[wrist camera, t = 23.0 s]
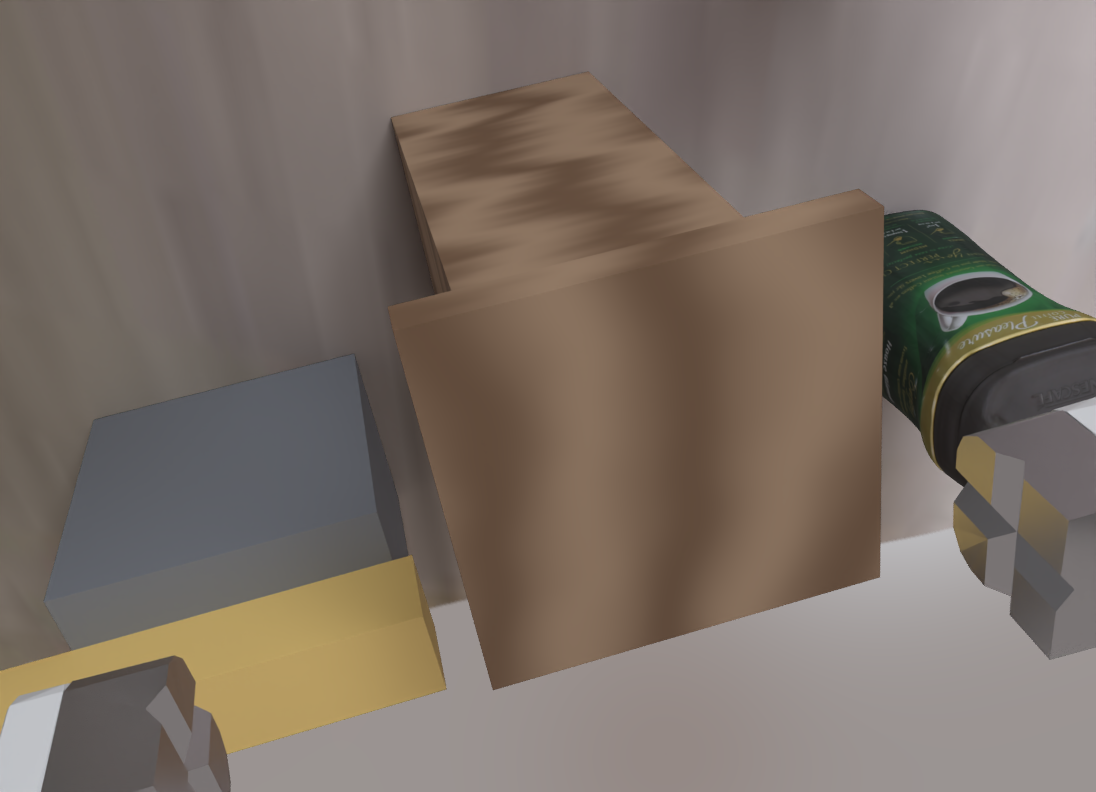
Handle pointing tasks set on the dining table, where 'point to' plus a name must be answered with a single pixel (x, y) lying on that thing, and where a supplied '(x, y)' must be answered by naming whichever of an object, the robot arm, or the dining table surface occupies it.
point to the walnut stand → (633, 379)
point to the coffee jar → (972, 338)
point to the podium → (223, 502)
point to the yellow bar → (280, 655)
